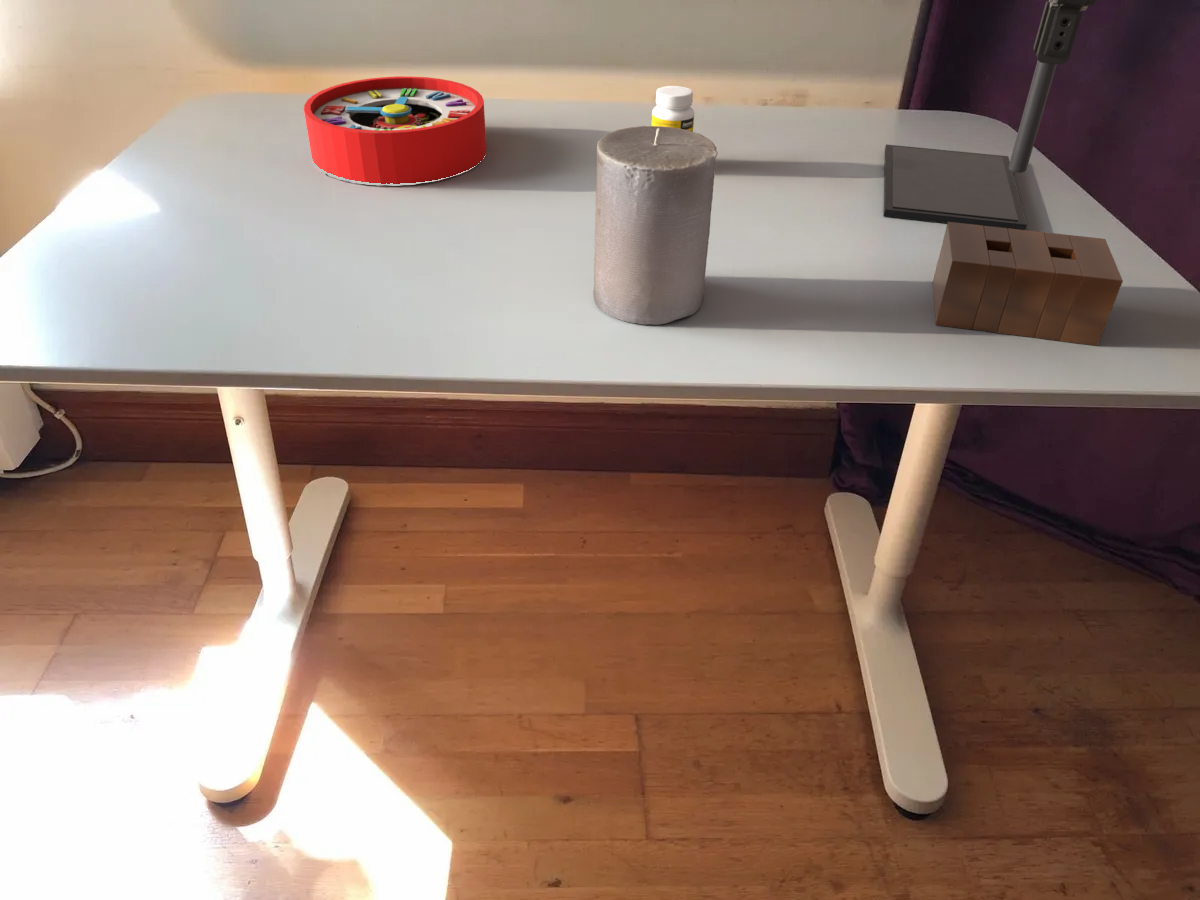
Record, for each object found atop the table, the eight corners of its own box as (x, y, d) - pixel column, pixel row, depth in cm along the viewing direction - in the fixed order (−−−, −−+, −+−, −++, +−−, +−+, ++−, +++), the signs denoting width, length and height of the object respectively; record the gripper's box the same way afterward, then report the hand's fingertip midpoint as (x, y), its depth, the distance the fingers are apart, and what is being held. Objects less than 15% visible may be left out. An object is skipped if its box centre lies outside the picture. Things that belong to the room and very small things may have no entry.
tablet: (1006, 162, 112) (1008, 155, 111) (1024, 232, 96) (1027, 223, 96) (884, 150, 114) (885, 143, 114) (883, 216, 99) (884, 208, 98)
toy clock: (469, 135, 99) (279, 129, 100) (473, 189, 103) (290, 183, 104) (494, 78, 115) (330, 74, 116) (497, 126, 119) (338, 122, 119)
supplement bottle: (682, 176, 107) (687, 99, 102) (643, 169, 108) (646, 93, 103) (696, 162, 111) (701, 87, 105) (658, 155, 112) (661, 81, 107)
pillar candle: (604, 269, 88) (607, 105, 79) (709, 279, 87) (724, 114, 78) (583, 320, 81) (584, 145, 72) (698, 332, 80) (713, 156, 70)
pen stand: (1082, 301, 85) (1105, 238, 81) (1097, 346, 79) (1123, 280, 75) (932, 282, 87) (947, 221, 84) (935, 325, 81) (952, 260, 78)
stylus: (1025, 167, 78) (1078, -21, 69) (1027, 174, 77) (1081, -17, 68) (1007, 165, 78) (1057, -22, 70) (1008, 172, 77) (1060, -18, 68)
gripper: (1221, -215, 56) (1118, 89, 66) (1169, -224, 66) (1087, 39, 77) (1084, -219, 57) (1004, 80, 67) (1055, -228, 68) (990, 32, 78)
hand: (1049, 57), depth 72 cm, fingers closed on stylus, 1 cm apart
